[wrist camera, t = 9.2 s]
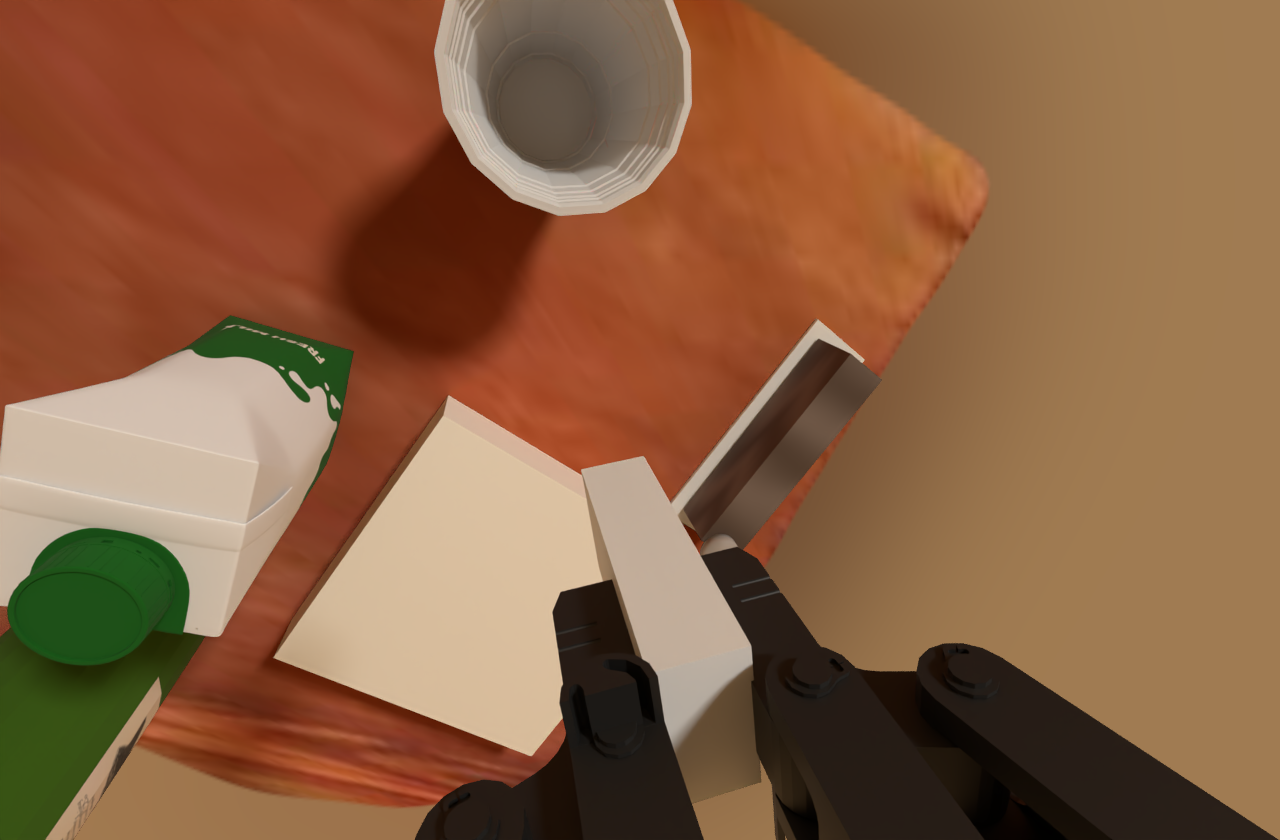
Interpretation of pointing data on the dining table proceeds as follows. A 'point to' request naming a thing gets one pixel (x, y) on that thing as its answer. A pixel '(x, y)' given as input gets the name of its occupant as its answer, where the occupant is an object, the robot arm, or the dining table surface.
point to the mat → (754, 413)
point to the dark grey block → (779, 447)
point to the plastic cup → (565, 95)
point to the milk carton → (161, 489)
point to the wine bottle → (74, 728)
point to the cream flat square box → (456, 584)
